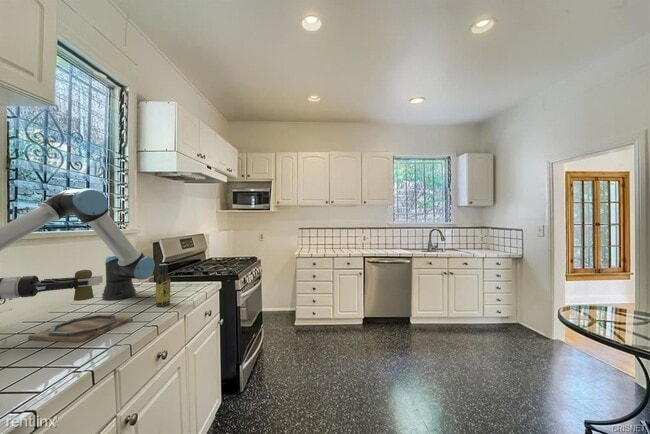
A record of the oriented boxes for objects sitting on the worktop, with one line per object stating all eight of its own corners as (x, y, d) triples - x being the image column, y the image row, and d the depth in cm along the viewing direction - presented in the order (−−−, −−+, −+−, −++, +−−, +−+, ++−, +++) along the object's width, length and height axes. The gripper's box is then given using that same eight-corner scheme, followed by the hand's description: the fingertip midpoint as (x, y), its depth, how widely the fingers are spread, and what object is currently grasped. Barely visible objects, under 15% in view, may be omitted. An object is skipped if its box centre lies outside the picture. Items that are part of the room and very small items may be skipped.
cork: (82, 301, 111) (81, 271, 111) (69, 300, 112) (69, 271, 112) (97, 296, 117) (97, 268, 117) (85, 296, 118) (84, 268, 118)
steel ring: (86, 316, 126) (86, 314, 126) (127, 318, 122) (127, 315, 122) (35, 334, 106) (35, 331, 106) (81, 337, 103) (81, 334, 103)
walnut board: (87, 318, 127) (87, 314, 127) (132, 320, 124) (132, 316, 124) (28, 339, 105) (28, 335, 105) (81, 342, 102) (81, 338, 102)
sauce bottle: (165, 307, 141) (164, 265, 141) (152, 307, 142) (152, 265, 142) (173, 303, 147) (172, 263, 147) (161, 303, 148) (161, 263, 148)
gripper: (32, 292, 115) (106, 285, 125) (8, 303, 99) (95, 294, 109) (32, 272, 115) (105, 267, 125) (8, 281, 99) (94, 274, 109)
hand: (100, 280), depth 117 cm, fingers closed on cork, 4 cm apart
